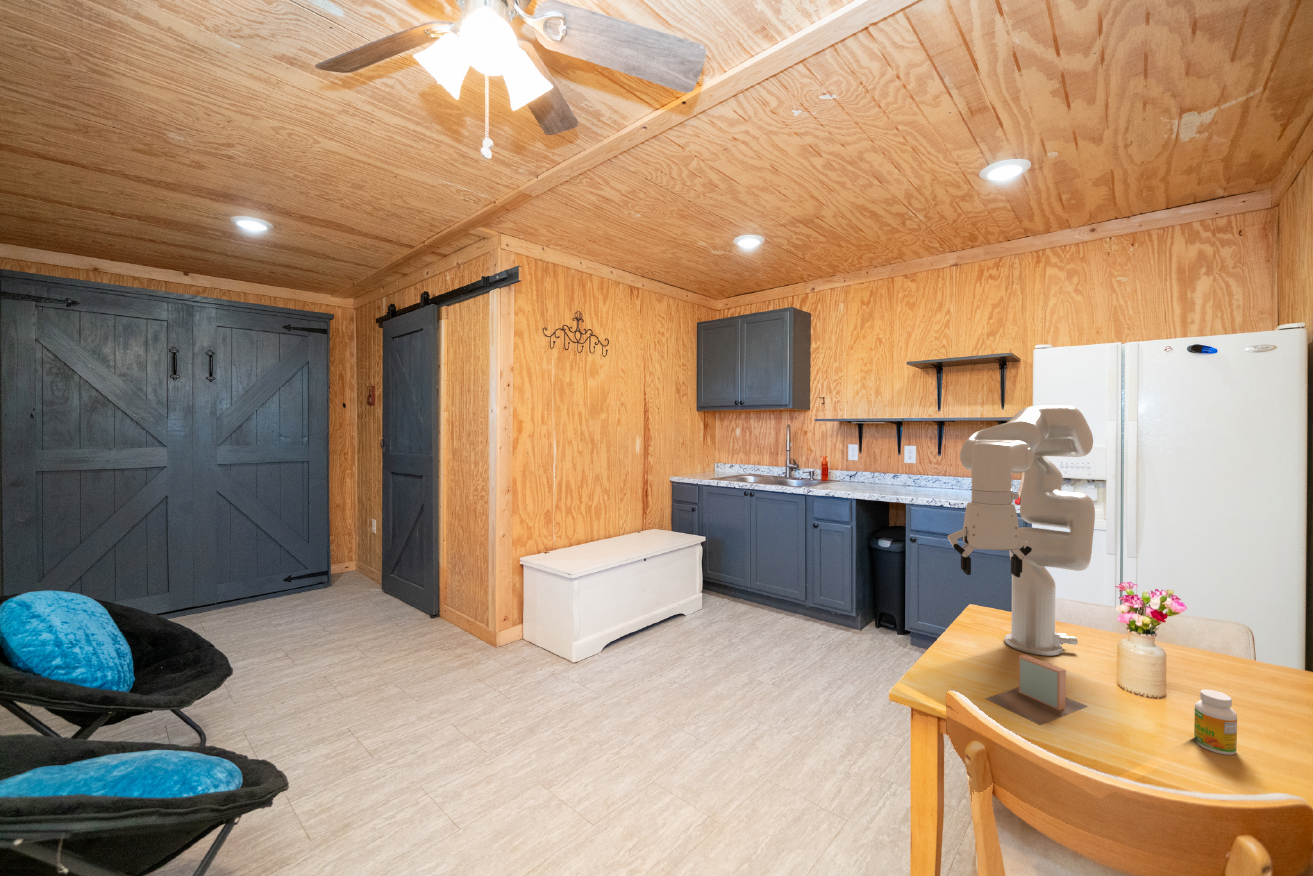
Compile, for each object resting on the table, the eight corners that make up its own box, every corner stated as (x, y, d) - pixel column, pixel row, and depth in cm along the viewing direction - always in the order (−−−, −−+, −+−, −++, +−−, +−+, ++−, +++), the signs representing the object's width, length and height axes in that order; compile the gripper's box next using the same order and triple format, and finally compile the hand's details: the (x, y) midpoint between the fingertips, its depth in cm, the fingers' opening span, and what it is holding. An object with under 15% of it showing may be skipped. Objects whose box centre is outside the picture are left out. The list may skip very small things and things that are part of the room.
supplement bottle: (1185, 739, 100) (1186, 688, 100) (1211, 737, 101) (1212, 686, 100) (1218, 756, 95) (1219, 703, 95) (1245, 754, 95) (1246, 701, 95)
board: (1031, 688, 120) (1031, 682, 120) (1087, 711, 110) (1087, 706, 110) (984, 704, 113) (984, 698, 113) (1040, 731, 103) (1040, 724, 103)
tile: (1024, 690, 116) (1024, 654, 116) (1065, 708, 109) (1065, 669, 109) (1018, 692, 115) (1018, 656, 115) (1058, 710, 108) (1059, 671, 108)
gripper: (1028, 496, 120) (1027, 571, 120) (943, 495, 124) (943, 568, 124) (1043, 501, 112) (1043, 581, 113) (953, 499, 116) (953, 577, 117)
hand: (990, 574), depth 119 cm, fingers open, 9 cm apart
